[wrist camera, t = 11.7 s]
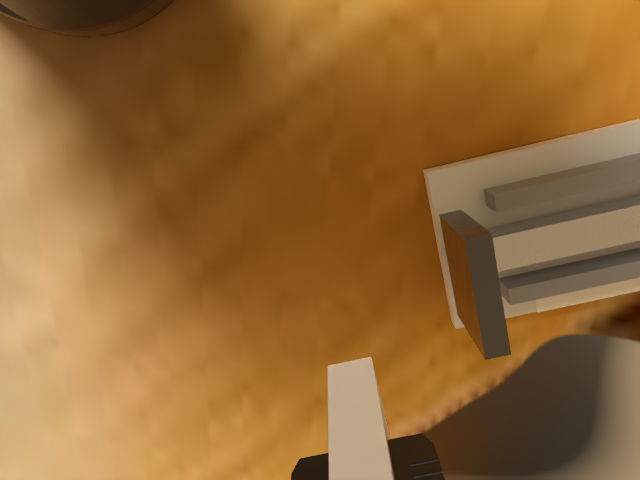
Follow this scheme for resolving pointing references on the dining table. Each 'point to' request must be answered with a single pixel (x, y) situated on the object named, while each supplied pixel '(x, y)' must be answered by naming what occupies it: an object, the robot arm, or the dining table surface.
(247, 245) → the dining table surface
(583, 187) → the base
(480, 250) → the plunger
